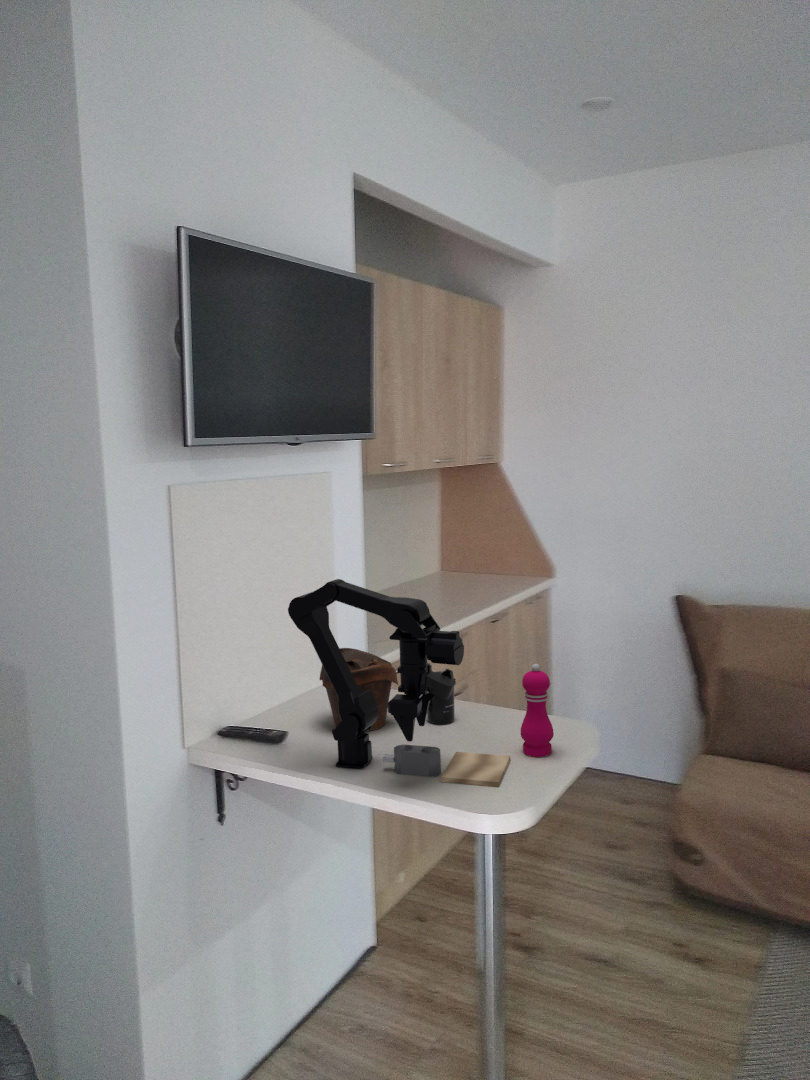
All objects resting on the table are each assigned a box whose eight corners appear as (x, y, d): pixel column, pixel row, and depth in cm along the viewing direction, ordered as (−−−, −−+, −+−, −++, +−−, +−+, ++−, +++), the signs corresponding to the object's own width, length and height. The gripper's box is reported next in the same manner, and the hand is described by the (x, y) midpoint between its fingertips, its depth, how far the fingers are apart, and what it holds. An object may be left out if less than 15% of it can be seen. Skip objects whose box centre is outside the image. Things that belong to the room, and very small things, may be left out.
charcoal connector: (381, 772, 173) (380, 750, 172) (387, 765, 176) (386, 743, 176) (438, 777, 169) (437, 754, 168) (443, 770, 173) (442, 747, 172)
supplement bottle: (452, 725, 200) (451, 677, 198) (425, 724, 201) (423, 677, 200) (456, 716, 206) (455, 670, 205) (430, 715, 208) (428, 669, 206)
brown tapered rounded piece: (389, 738, 192) (386, 664, 190) (310, 734, 197) (306, 661, 195) (409, 715, 209) (406, 646, 207) (335, 711, 214) (332, 644, 213)
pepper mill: (560, 751, 180) (559, 663, 178) (539, 760, 176) (537, 670, 173) (535, 743, 186) (533, 657, 184) (514, 752, 181) (512, 664, 179)
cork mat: (440, 781, 167) (440, 777, 167) (456, 756, 180) (456, 751, 180) (498, 786, 163) (498, 782, 163) (510, 760, 177) (510, 755, 176)
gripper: (440, 675, 158) (442, 753, 160) (461, 651, 176) (463, 721, 178) (385, 672, 162) (388, 748, 163) (412, 649, 179) (414, 717, 181)
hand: (415, 733), depth 171 cm, fingers open, 9 cm apart
